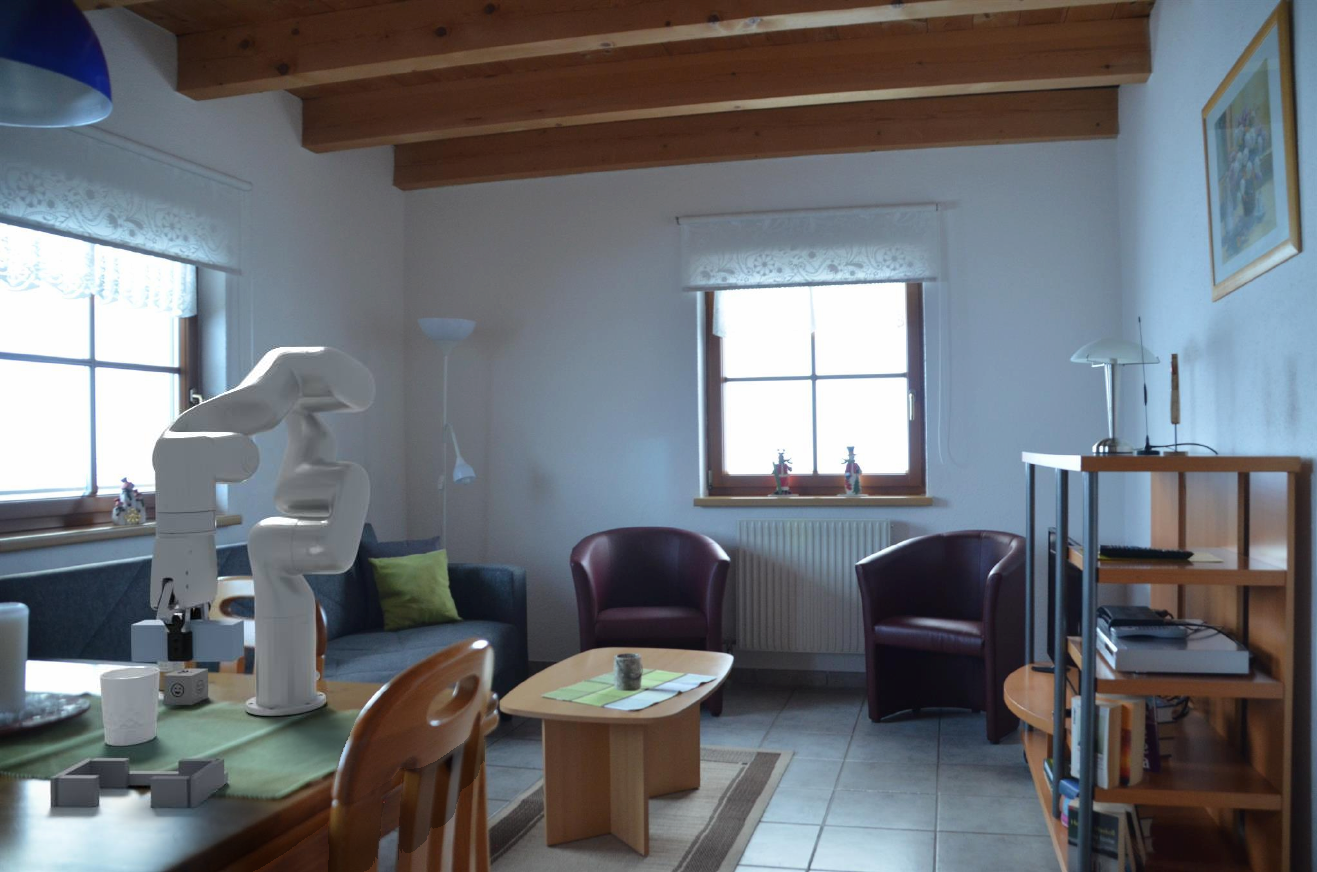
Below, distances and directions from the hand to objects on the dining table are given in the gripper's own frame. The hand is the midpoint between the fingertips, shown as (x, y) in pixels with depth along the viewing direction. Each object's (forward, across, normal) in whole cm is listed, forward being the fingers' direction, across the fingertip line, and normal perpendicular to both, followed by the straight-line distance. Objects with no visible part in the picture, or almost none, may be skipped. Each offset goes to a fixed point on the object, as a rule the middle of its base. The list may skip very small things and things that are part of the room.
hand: (188, 655), depth 137 cm
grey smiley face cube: (+16, -32, -17) cm, 40 cm away
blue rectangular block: (0, 0, 0) cm, 0 cm away
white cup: (+15, -11, -14) cm, 24 cm away
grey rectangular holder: (+15, +12, 0) cm, 19 cm away
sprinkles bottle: (+16, -41, -24) cm, 50 cm away
